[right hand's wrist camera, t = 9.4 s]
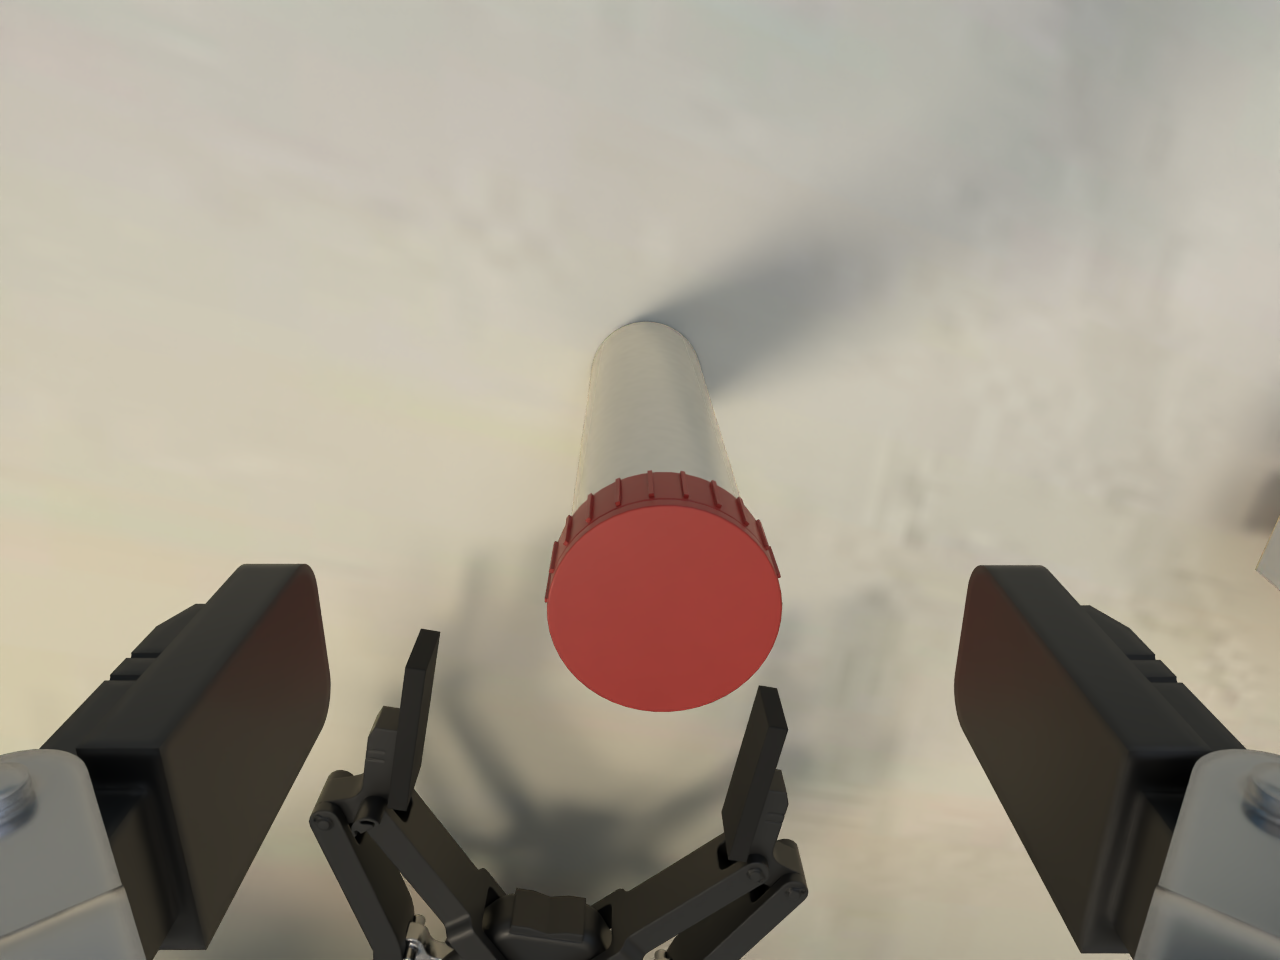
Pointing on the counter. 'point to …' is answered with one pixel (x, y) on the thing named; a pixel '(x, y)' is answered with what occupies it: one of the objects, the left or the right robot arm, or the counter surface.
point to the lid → (663, 592)
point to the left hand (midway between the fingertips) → (601, 677)
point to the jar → (648, 413)
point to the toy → (1271, 558)
